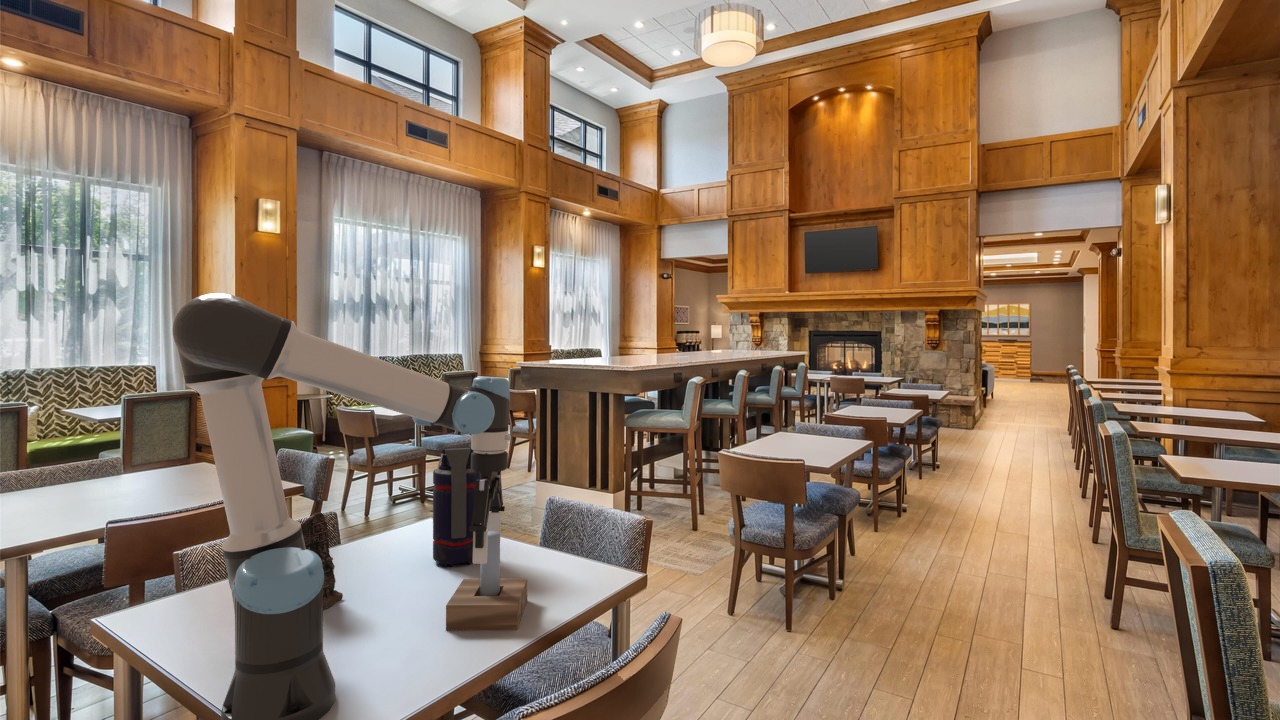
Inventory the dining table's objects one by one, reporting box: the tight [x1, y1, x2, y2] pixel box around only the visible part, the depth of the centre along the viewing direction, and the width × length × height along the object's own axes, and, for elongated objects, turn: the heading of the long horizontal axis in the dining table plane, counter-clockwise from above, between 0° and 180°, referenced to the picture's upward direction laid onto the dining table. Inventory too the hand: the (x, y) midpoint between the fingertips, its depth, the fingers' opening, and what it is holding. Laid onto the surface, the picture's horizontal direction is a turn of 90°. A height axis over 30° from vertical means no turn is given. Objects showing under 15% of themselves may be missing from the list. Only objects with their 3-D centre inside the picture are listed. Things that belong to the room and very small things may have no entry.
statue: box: [300, 512, 344, 611], centre depth 132 cm, size 7×7×20 cm
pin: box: [479, 531, 501, 596], centre depth 127 cm, size 4×4×16 cm
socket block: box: [445, 577, 528, 631], centre depth 127 cm, size 14×14×5 cm
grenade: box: [432, 446, 481, 568], centre depth 158 cm, size 14×12×30 cm
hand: (487, 552), depth 127 cm, fingers open, 13 cm apart
